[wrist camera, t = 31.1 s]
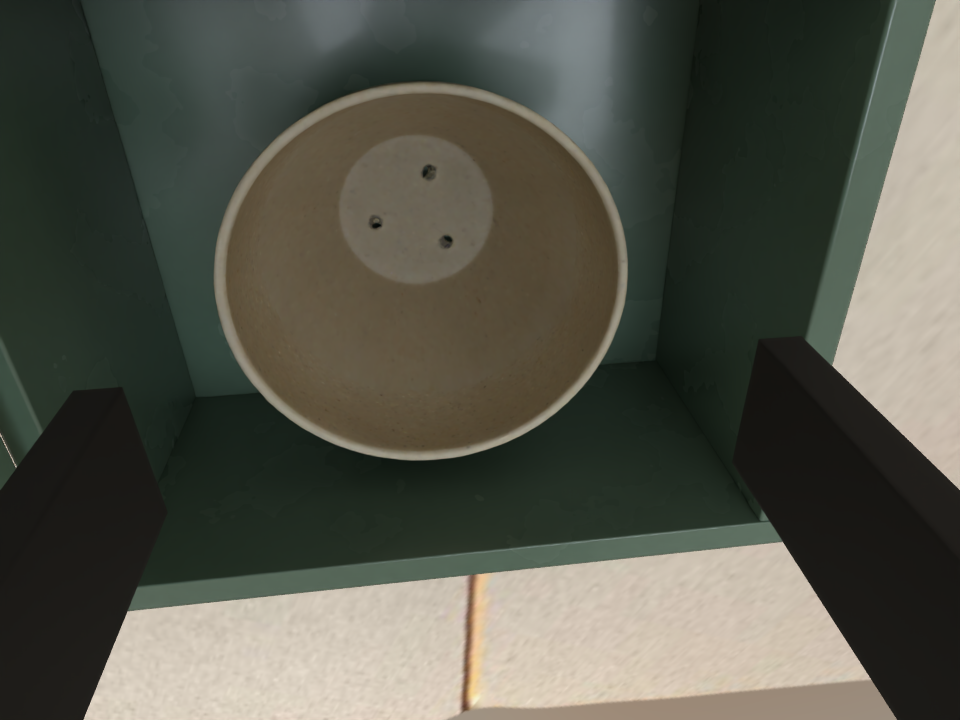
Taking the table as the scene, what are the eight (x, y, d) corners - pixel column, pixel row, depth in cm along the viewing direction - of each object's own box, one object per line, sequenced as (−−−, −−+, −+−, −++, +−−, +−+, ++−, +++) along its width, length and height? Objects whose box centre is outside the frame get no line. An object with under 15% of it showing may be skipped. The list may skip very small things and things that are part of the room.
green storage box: (725, -76, 20) (965, -95, 12) (666, 365, 28) (783, 542, 20) (43, -56, 19) (-245, -62, 10) (184, 405, 27) (88, 616, 18)
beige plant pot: (452, 382, 26) (470, 512, 20) (207, 242, 22) (139, 351, 16) (626, 173, 23) (712, 253, 17) (373, -36, 19) (364, -30, 13)
